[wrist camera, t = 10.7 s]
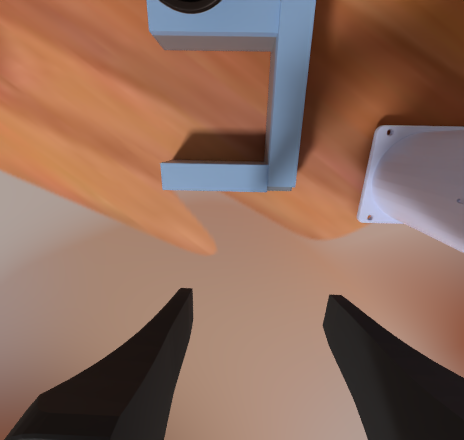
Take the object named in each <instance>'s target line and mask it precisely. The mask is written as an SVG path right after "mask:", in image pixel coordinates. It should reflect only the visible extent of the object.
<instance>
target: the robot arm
mask: <svg viewBox="0 0 464 440" xmlns="http://www.w3.org/2000/svg"><path fill="white" fill-rule="evenodd" d="M389 129H390V131H391V133H390V134H389V135H387V131H388V130H389ZM369 215H371V217H370V218H369V219H367V217H368V216H369ZM357 219H358V220H359V221H360V222H362V223H399V224H406V225H408V226H410V227H412V228H414V229H416V230H419V231H421V232H423V233H425V234H426V235H429V236H430V237H433V238H435V239H437V240H439V241H441V242H443V243H445V244H447V245H449V246H451V247H453V248H455V249H457V250H459V251H461V252H463V253H464V127H458V126H402V125H382V126H379V127H378V128H377V129H376V130H375V133H374V138H373V143H372V147H371V152H370V157H369V161H368V166H367V171H366V176H365V180H364V185H363V190H362V194H361V199H360V204H359V208H358V213H357ZM192 323H193V293H192V289H191V288H180V289H179V290H178V291H177V293H176V294H175V295H174V296H173V297H172V298H171V300H170V301H169V302H168V303H167V304H166V305H165V306H164V307H163V308H162V310H160V312H159V313H158V314H157V315H156V316H155V317H154V318H153V319H152V320H151V321H150V322H148V323H147V324H146V325H145V326H144V327H143V328H142V329H141V330H140V331H139V332H138V333H136V334H135V335H134V336H133V337H132V338H130V339H129V340H128V341H127V342H125V343H124V344H123V345H122V346H120V347H119V348H117V349H116V350H115V351H113V352H112V353H110V354H109V355H108V356H106V357H105V358H103V359H102V360H100V361H99V362H97V363H96V364H94V365H93V366H91V367H89V368H88V369H86V370H84V371H83V372H81V373H79V374H78V375H76V376H74V377H72V378H71V379H69V380H67V381H65V382H63V383H61V384H59V385H57V386H56V387H54V388H52V389H50V390H48V391H46V392H44V393H42V394H40V395H39V396H38V397H37V399H36V400H35V401H34V402H33V403H32V404H31V406H30V407H29V408H28V409H27V411H26V412H25V413H24V414H23V416H22V417H21V418H20V420H19V421H18V422H17V424H16V425H15V426H14V428H13V429H12V430H11V431H10V433H9V434H8V435H7V437H6V438H5V439H4V440H164V437H165V431H166V427H167V421H168V417H169V412H170V407H171V403H172V398H173V394H174V390H175V386H176V383H177V379H178V376H179V373H180V369H181V366H182V363H183V359H184V356H185V353H186V349H187V346H188V343H189V339H190V334H191V329H192ZM323 328H324V331H325V335H326V338H327V341H328V344H329V346H330V349H331V351H332V353H333V355H334V358H335V359H336V362H337V364H338V366H339V368H340V371H341V373H342V375H343V377H344V379H345V381H346V384H347V386H348V388H349V390H350V392H351V395H352V397H353V399H354V402H355V404H356V407H357V410H358V412H359V415H360V418H361V421H362V424H363V426H364V429H365V432H366V435H367V438H368V440H464V378H463V377H461V376H459V375H457V374H456V373H454V372H452V371H450V370H448V369H447V368H445V367H443V366H441V365H439V364H438V363H436V362H434V361H432V360H431V359H429V358H428V357H426V356H424V355H423V354H421V353H420V352H418V351H417V350H415V349H413V348H412V347H410V346H409V345H407V344H406V343H404V342H403V341H401V340H400V339H398V338H397V337H395V336H394V335H393V334H391V333H390V332H389V331H387V330H386V329H385V328H383V327H382V326H380V325H379V324H378V323H376V322H375V321H374V320H373V319H371V318H370V317H369V316H367V315H366V314H365V313H364V312H362V311H361V310H360V309H359V308H357V307H356V306H355V305H353V304H352V303H351V302H350V301H348V300H347V299H346V298H344V297H343V296H342V295H329V299H328V303H327V308H326V313H325V318H324V322H323Z"/></svg>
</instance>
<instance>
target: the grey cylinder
mask: <svg viewBox="0 0 464 440" xmlns="http://www.w3.org/2000/svg"><path fill="white" fill-rule="evenodd" d="M159 1H160V2H161V3H162V4H164V5H165V6H167V7H169V8H171V9H172V10H175V11H177V12H181V13H185V14H199V13H203V12H206V11H208V10H210V9H212V8H214V7H215V6H216V5H218V4H219V3H220V2H221V1H222V0H159Z"/></svg>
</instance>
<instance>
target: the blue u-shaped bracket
mask: <svg viewBox="0 0 464 440" xmlns="http://www.w3.org/2000/svg"><path fill="white" fill-rule="evenodd" d="M315 5H316V0H281V1H280V0H222V1H221V2H220V3H219V4H218V5H216V6H215V7H214V8H212V9H210V10H208V11H206V12H203V13H199V14H185V13H181V12H177V11H175V10H172V9H171V8H169V7H167V6H165V5H164V4H162V3H161V2H160V1H159V0H147V11H148V23H149V31H150V33H151V34H152V35H169V36H249V37H276V51H275V66H274V80H273V95H272V109H271V124H270V138H269V153H268V165H267V164H218V163H170V162H162V163H160V164H161V176H162V188H163V190H196V191H197V190H198V191H239V192H267V186H268V187H295V184H296V175H297V166H298V157H299V148H300V139H301V130H302V121H303V112H304V103H305V94H306V86H307V77H308V68H309V59H310V50H311V41H312V32H313V23H314V14H315Z"/></svg>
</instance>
